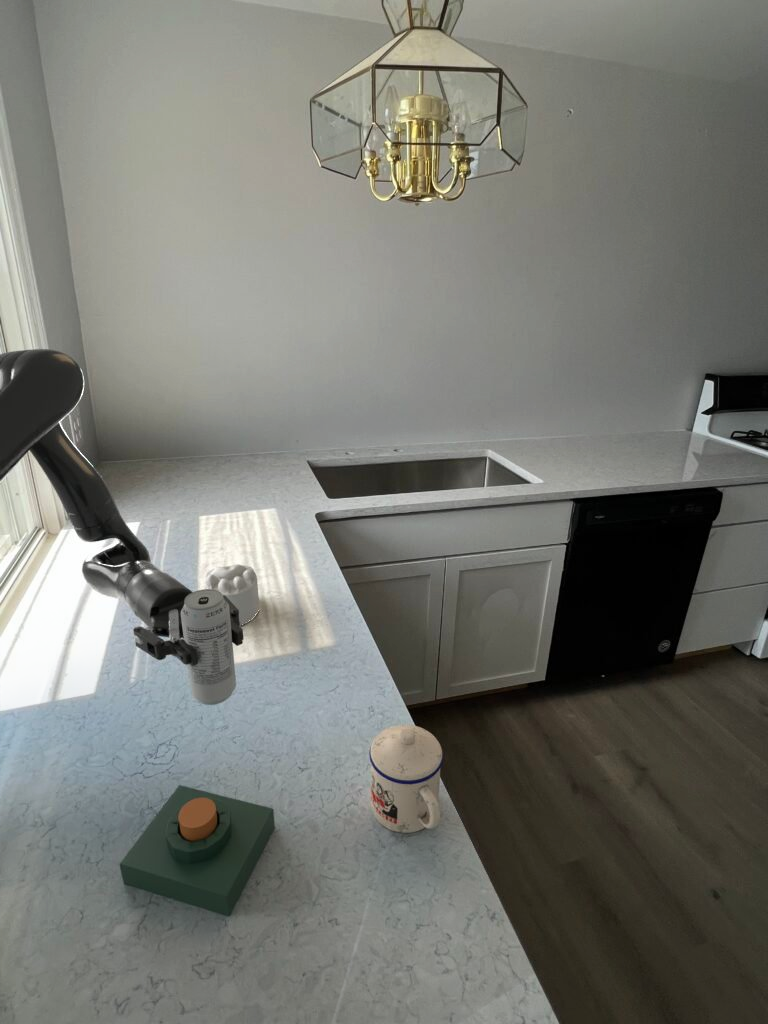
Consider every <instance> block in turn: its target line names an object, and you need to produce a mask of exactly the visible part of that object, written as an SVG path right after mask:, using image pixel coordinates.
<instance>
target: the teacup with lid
mask: <svg viewBox="0 0 768 1024" xmlns="http://www.w3.org/2000/svg"><path fill="white" fill-rule="evenodd" d="M368 754H369V760H370V807H371V811H372V814H373V815H374V817H375V819H376V820H377V821H378V822H379V824H381V825H382V827H385V828H387V829H388V830H390V831H393V832H397V833H403V834H410V833H415V832H419V831H421V830H424V829H425V828H426V829H428V830H429V829H430V830H431V829H434V828H436V827H437V826H438V825H439V824H440V821H441V809H440V806H439V796H440V781H441V767H442V765H443V762H444V753H443V749H442V746H441V744H440V742H439V740H438V739H437V738H436V736H434V734H432V733H431V732H430V731H428V730H427V729H425V728H422V727H420V726H417V725H412V724H397V725H396V724H395V725H392V726H389V727H387V728H384V729H383V730H382V731H380V732H379V733H378V734H377V735H376V736H375V738H374V739H373V741H372V743H371V745H370V747H369V752H368Z"/></svg>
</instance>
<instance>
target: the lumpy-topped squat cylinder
mask: <svg viewBox="0 0 768 1024" xmlns="http://www.w3.org/2000/svg"><path fill="white" fill-rule="evenodd" d="M203 582H204V589H214V590H218V591H220V592H221V593H222V594H223V595H225V596H226V597H227V598H228V599H229V600H230V601H231V602H232V603H233V604H234V605H235V607H236V608H237V609H238V610H239V622H240V625H242V624H245V623H246V622H248V621H249V620H251V619H252V618H253V617H254V616H255V614H256V613H257V612H258V610H259V609H260V599H259V598H260V597H259V585H258V583H259V582H258V577H257V574H256V572H255V570H254V568H252V567H251V566H249V565H244V564H239V563H237V564H233V565H228V566H227V565H226V566H225V565H224V566H218V567H216V568H213V569H210V570H209V571H207V572H206V573H205V574H204V579H203ZM245 625H246V624H245Z"/></svg>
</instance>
